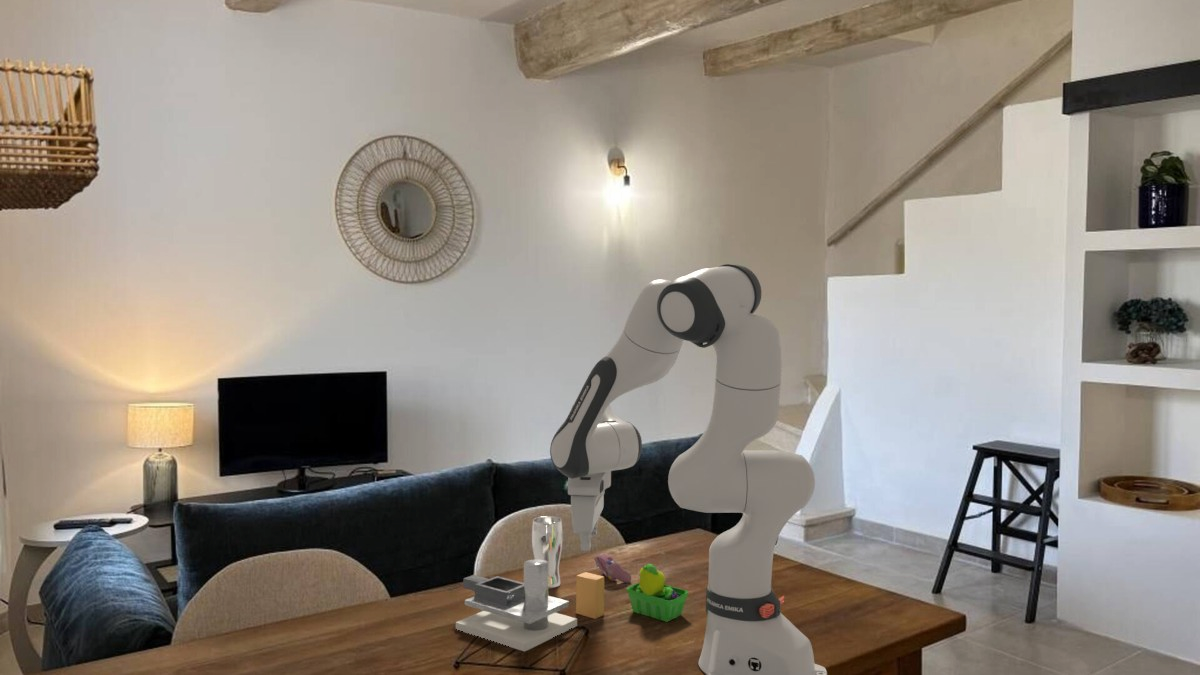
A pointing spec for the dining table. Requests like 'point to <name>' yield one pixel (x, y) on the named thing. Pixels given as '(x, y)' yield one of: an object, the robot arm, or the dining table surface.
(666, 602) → the fruit basket
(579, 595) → the wedge
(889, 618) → the dining table surface
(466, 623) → the board
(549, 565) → the beer glass
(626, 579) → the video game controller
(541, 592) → the grey metal fixture
